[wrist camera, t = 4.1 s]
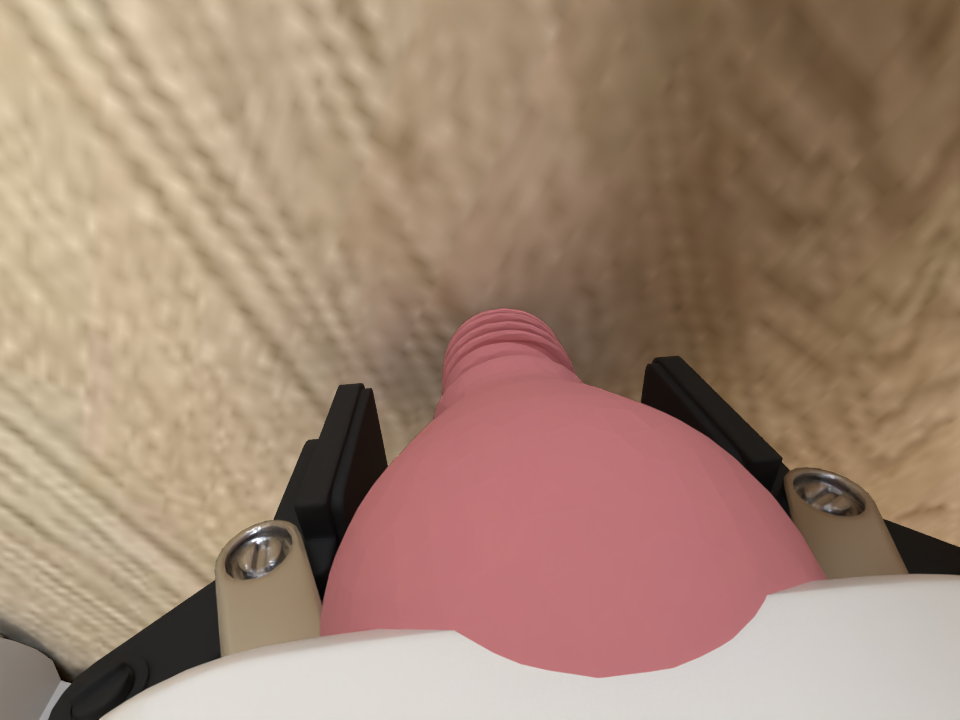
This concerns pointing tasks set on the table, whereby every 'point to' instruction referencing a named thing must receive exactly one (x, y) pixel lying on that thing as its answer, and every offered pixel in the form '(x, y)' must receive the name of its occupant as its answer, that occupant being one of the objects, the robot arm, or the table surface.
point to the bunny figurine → (27, 682)
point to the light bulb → (560, 521)
